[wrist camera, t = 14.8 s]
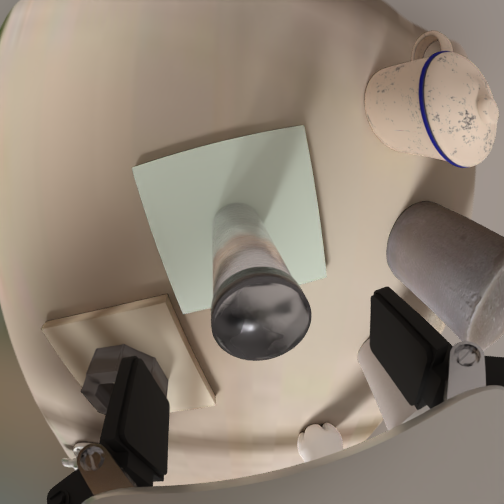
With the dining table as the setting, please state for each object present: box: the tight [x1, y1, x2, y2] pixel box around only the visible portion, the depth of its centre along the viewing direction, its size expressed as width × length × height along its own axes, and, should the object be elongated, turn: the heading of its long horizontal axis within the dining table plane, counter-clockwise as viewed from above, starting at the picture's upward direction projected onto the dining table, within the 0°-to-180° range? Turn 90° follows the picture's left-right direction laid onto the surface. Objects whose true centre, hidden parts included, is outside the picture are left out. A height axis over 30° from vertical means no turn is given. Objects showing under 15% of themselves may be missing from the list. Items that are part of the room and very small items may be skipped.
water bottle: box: [297, 423, 343, 462], centre depth 28 cm, size 7×7×25 cm
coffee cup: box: [358, 338, 430, 431], centre depth 27 cm, size 10×10×15 cm
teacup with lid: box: [365, 31, 499, 168], centre depth 16 cm, size 12×9×12 cm
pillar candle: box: [387, 201, 504, 351], centre depth 21 cm, size 10×10×15 cm
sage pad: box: [132, 125, 327, 314], centre depth 24 cm, size 14×14×1 cm
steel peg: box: [211, 203, 311, 361], centre depth 18 cm, size 4×4×13 cm
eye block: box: [41, 294, 216, 415], centre depth 27 cm, size 16×16×6 cm
